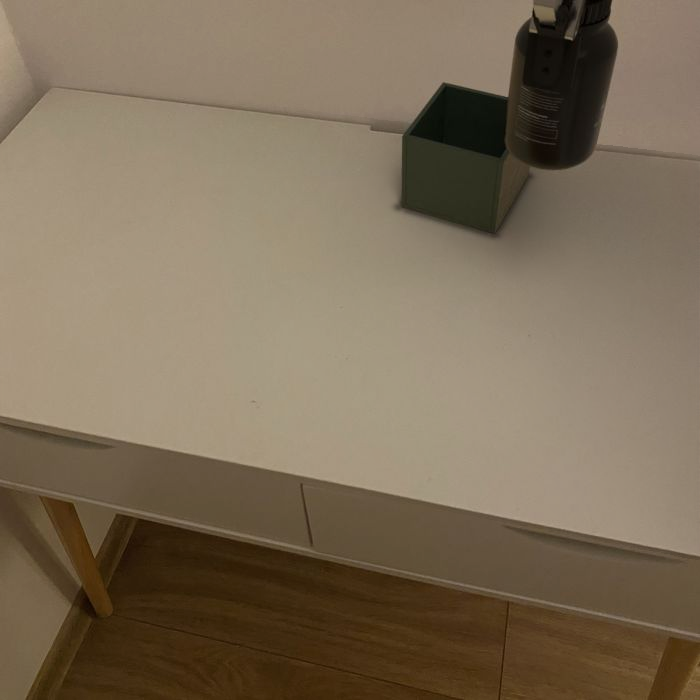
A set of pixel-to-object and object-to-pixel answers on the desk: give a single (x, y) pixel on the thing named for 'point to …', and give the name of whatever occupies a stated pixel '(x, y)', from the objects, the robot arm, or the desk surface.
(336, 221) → the desk surface
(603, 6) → the supplement bottle
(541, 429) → the desk surface
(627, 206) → the desk surface
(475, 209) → the open box
